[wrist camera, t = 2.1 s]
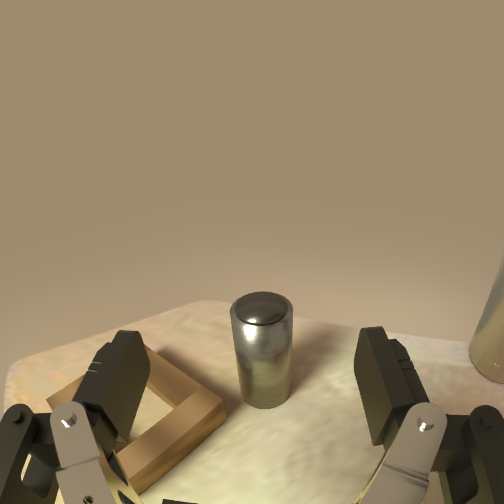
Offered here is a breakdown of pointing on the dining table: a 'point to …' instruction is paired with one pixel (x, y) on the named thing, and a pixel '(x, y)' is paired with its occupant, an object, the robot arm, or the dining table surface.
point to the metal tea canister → (263, 347)
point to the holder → (164, 422)
